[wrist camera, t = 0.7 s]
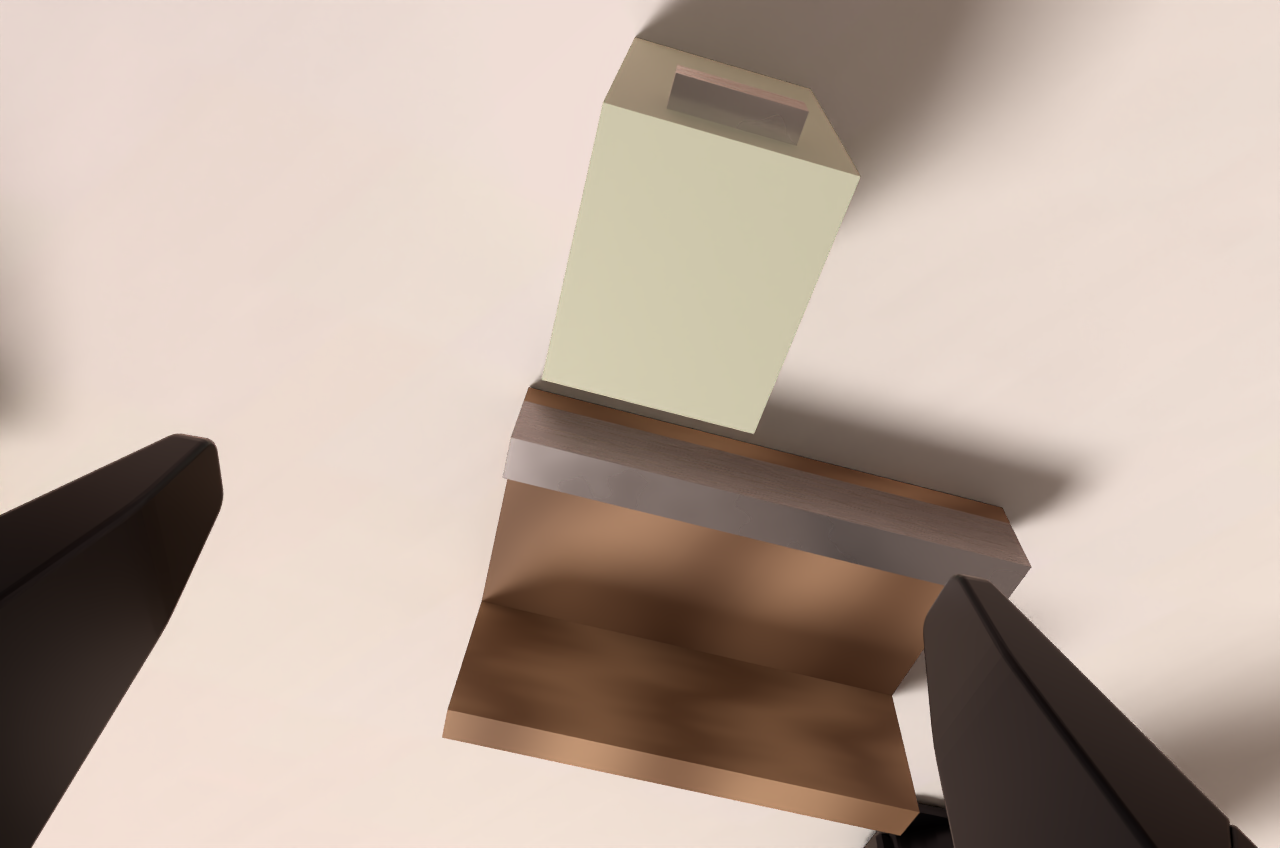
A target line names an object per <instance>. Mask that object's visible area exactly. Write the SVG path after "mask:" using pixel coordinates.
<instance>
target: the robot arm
mask: <svg viewBox="0 0 1280 848" xmlns="http://www.w3.org/2000/svg"><path fill="white" fill-rule="evenodd" d="M222 501H223V485H222V479H221V472H220V465H219V458H218V451H217V447H216V445H215V443H214V442H213V441H212V440H210V439H208V438H203V437H198V436H192V435H186V434H173V435H170V436H168V437H165V438H163V439H161V440H159V441H157V442H155V443H153V444H151V445H148V446H146V447H144V448H142V449H140V450H138V451H136V452H133V453H131V454H129V455H127V456H125V457H123V458H121V459H119V460H116V461H114V462H112V463H110V464H108V465H106V466H104V467H102V468H99V469H97V470H95V471H93V472H91V473H89V474H87V475H84V476H82V477H80V478H78V479H76V480H74V481H72V482H70V483H67V484H65V485H63V486H61V487H59V488H57V489H55V490H52V491H50V492H48V493H46V494H44V495H42V496H40V497H38V498H35V499H33V500H31V501H29V502H27V503H25V504H23V505H21V506H18V507H16V508H14V509H12V510H10V511H8V512H6V513H3V514H1V515H0V848H32V846H33V844H34V843H35V841H36V840H37V838H38V836H39V835H40V833H41V831H42V830H43V828H44V826H45V825H46V823H47V821H48V820H49V818H50V817H51V815H52V813H53V812H54V810H55V808H56V807H57V805H58V803H59V802H60V800H61V799H62V797H63V795H64V794H65V792H66V790H67V789H68V787H69V785H70V784H71V782H72V780H73V779H74V777H75V776H76V774H77V772H78V771H79V769H80V767H81V766H82V764H83V762H84V761H85V759H86V758H87V756H88V754H89V753H90V751H91V749H92V748H93V746H94V744H95V743H96V741H97V739H98V738H99V736H100V735H101V733H102V731H103V730H104V728H105V726H106V725H107V723H108V721H109V720H110V718H111V717H112V715H113V713H114V712H115V710H116V708H117V707H118V705H119V703H120V702H121V700H122V698H123V697H124V695H125V694H126V692H127V690H128V689H129V687H130V685H131V684H132V682H133V680H134V679H135V677H136V676H137V674H138V672H139V671H140V669H141V667H142V666H143V664H144V662H145V661H146V659H147V657H148V656H149V654H150V653H151V651H152V649H153V648H154V646H155V644H156V643H157V641H158V639H159V638H160V636H161V634H162V632H163V631H164V629H165V627H166V625H167V624H168V622H169V620H170V618H171V616H172V614H173V612H174V609H175V607H176V605H177V603H178V601H179V599H180V597H181V595H182V592H183V590H184V588H185V586H186V584H187V582H188V579H189V577H190V575H191V573H192V571H193V568H194V566H195V564H196V562H197V560H198V558H199V555H200V553H201V551H202V549H203V547H204V545H205V542H206V540H207V538H208V536H209V534H210V531H211V529H212V527H213V525H214V523H215V521H216V518H217V516H218V514H219V512H220V509H221V506H222ZM923 640H924V651H925V662H926V673H927V683H928V694H929V705H930V716H931V727H932V735H933V743H934V750H935V755H936V761H937V766H938V771H939V776H940V781H941V786H942V791H943V795H944V800H945V805H946V809H941V808H937V807H932V806H927V805H923V804H918V807H919V811H920V813H919V814H918V815H917V816H916V817H915V819H914V820H913V821H912V822H911V823H910V825H909V826H908V827H907V828H906V829H905V831H904V832H903V833H902V834H901V836H900V835H895V834H891V833H886V832H881V831H877V832H876V833H875V834H874V836H873V837H872V838H871V840H870V841H869V842H868V843H867V845H866V846H865V847H864V848H1258V847H1257V846H1256V845H1255V844H1254V843H1253V842H1252V841H1251V840H1250V839H1249V838H1248V837H1247V836H1246V835H1245V834H1244V833H1243V832H1242V831H1241V830H1240V829H1239V828H1238V827H1236V826H1235V825H1230V821H1229V819H1228V818H1227V817H1226V816H1225V815H1224V814H1223V813H1222V812H1221V811H1220V810H1219V809H1218V808H1217V807H1216V806H1215V805H1214V804H1213V803H1212V802H1211V801H1210V800H1209V799H1208V798H1207V797H1206V796H1205V795H1204V794H1203V793H1202V792H1201V791H1200V790H1199V789H1198V788H1197V787H1196V786H1195V785H1194V784H1193V783H1192V782H1191V781H1190V780H1189V779H1188V778H1187V777H1186V776H1185V775H1184V774H1183V773H1182V772H1181V771H1180V770H1179V769H1178V768H1177V767H1176V766H1175V765H1174V764H1173V763H1172V762H1171V761H1170V760H1169V759H1168V758H1167V757H1166V756H1165V755H1164V754H1163V753H1162V752H1161V751H1160V750H1159V749H1158V748H1157V747H1156V746H1155V745H1154V744H1153V743H1152V742H1151V741H1150V740H1149V739H1148V738H1147V737H1146V736H1145V735H1144V734H1143V733H1142V732H1141V731H1140V730H1139V729H1138V728H1137V727H1136V726H1135V725H1134V724H1133V723H1132V722H1131V721H1130V720H1129V719H1128V718H1127V717H1126V716H1125V715H1124V714H1123V713H1122V712H1121V711H1120V710H1119V709H1118V708H1117V707H1116V706H1115V705H1114V704H1113V703H1112V702H1111V701H1110V700H1109V699H1108V698H1107V697H1106V696H1105V695H1104V694H1103V693H1102V692H1101V691H1100V690H1099V689H1098V688H1097V687H1096V686H1095V685H1094V684H1093V683H1092V682H1091V681H1090V680H1089V679H1088V678H1087V677H1086V676H1085V675H1084V674H1083V673H1082V672H1081V671H1080V670H1079V669H1078V668H1077V667H1076V666H1075V665H1074V664H1073V663H1072V662H1071V661H1070V660H1069V659H1068V658H1067V657H1066V656H1065V655H1064V654H1063V653H1062V652H1061V651H1060V650H1059V649H1058V648H1057V647H1056V646H1055V645H1054V644H1053V643H1052V642H1051V641H1050V640H1049V639H1048V638H1047V637H1046V636H1045V635H1044V634H1043V633H1042V632H1041V631H1040V630H1039V629H1038V628H1037V627H1036V626H1035V625H1034V624H1033V623H1032V622H1031V621H1030V620H1029V619H1028V618H1027V617H1026V616H1025V615H1024V614H1023V613H1022V612H1021V611H1020V610H1019V609H1018V608H1017V607H1016V606H1015V605H1014V604H1013V603H1012V602H1011V601H1010V600H1009V599H1008V598H1007V597H1006V596H1005V595H1004V594H1003V593H1002V592H1001V591H1000V590H999V589H998V588H997V587H996V586H995V585H994V584H992V583H991V582H990V581H989V580H987V579H984V578H980V577H975V576H969V575H964V574H956V575H953V576H952V577H951V578H950V579H949V580H948V581H947V583H946V584H945V586H944V587H943V589H942V591H941V592H940V594H939V595H938V597H937V599H936V600H935V602H934V603H933V605H932V607H931V608H930V610H929V611H928V613H927V615H926V617H925V620H924V625H923Z"/></svg>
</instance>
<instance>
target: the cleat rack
mask: <svg viewBox="0 0 1280 848" xmlns="http://www.w3.org/2000/svg"><path fill="white" fill-rule="evenodd" d="M503 478H506V479H507V484H506V489H505V493H504V498H503V503H502V508H501V512H500V517H499V522H498V526H497V531H496V536H495V541H494V545H493V550H492V555H491V560H490V564H489V569H488V574H487V579H486V583H485V588H484V593H483V598H482V602H481V605H480V608H479V612H478V615H477V618H476V621H475V624H474V627H473V631H472V634H471V637H470V640H469V643H468V646H467V650H466V653H465V656H464V659H463V662H462V666H461V669H460V672H459V675H458V678H457V681H456V685H455V688H454V691H453V694H452V697H451V701H450V704H449V707H448V710H447V715H446V720H445V725H444V730H443V736H442V737H443V738H447V739H452V740H457V741H461V742H466V743H471V744H475V745H480V746H485V747H489V748H494V749H499V750H503V751H508V752H513V753H517V754H522V755H527V756H531V757H536V758H541V759H545V760H550V761H555V762H559V763H564V764H569V765H573V766H578V767H583V768H587V769H592V770H597V771H601V772H606V773H611V774H615V775H620V776H625V777H629V778H634V779H639V780H643V781H648V782H653V783H657V784H662V785H667V786H671V787H676V788H681V789H685V790H690V791H695V792H699V793H704V794H709V795H713V796H718V797H723V798H727V799H732V800H737V801H741V802H746V803H751V804H755V805H760V806H765V807H769V808H774V809H779V810H783V811H788V812H793V813H797V814H802V815H807V816H811V817H816V818H821V819H825V820H830V821H835V822H839V823H844V824H849V825H853V826H858V827H863V828H867V829H872V830H877V831H881V832H886V833H891V834H895V835H900V836H901V834H902V833H903V832H904V831H905V829H906V828H907V827H908V826H909V825H910V823H911V822H912V821H913V820H914V819H915V817H916V816H917V815H918V814H919V813H920V811H919V807H918V803H917V799H916V795H915V790H914V786H913V782H912V778H911V774H910V769H909V765H908V761H907V757H906V753H905V748H904V744H903V740H902V736H901V732H900V727H899V723H898V719H897V715H896V711H895V706H894V702H893V698H892V694H893V693H894V692H895V690H896V689H897V687H898V686H899V684H900V683H901V681H902V680H903V679H904V677H905V676H906V674H907V673H908V671H909V670H910V668H911V667H912V665H913V664H914V663H915V661H916V660H917V658H918V657H919V655H920V654H921V652H922V651H923V649H924V640H923V625H924V620H925V617H926V615H927V613H928V611H929V610H930V608H931V607H932V605H933V603H934V602H935V600H936V599H937V597H938V595H939V594H940V592H941V591H942V589H943V587H944V586H945V584H946V583H947V581H948V580H949V579H950V578H951V577H952V576H953V575H956V574H964V575H969V576H975V577H980V578H984V579H987V580H989V581H990V582H991V583H992V584H994V585H995V586H996V587H997V588H998V589H999V590H1000V591H1001V592H1002V593H1003V594H1004V595H1005V596H1006V597H1007V598H1009V597H1010V595H1011V594H1012V593H1013V591H1014V590H1015V589H1016V587H1017V586H1018V585H1019V583H1020V582H1021V580H1022V579H1023V578H1024V576H1025V575H1026V574H1027V572H1028V571H1029V570H1030V568H1031V565H1030V563H1029V561H1028V559H1027V557H1026V555H1025V553H1024V551H1023V549H1022V547H1021V545H1020V543H1019V541H1018V539H1017V537H1016V534H1015V532H1014V530H1013V528H1012V526H1011V524H1010V522H1009V520H1008V518H1007V516H1006V514H1005V512H1004V510H1003V508H1001V507H997V506H993V505H989V504H985V503H981V502H978V501H974V500H970V499H966V498H962V497H958V496H954V495H950V494H946V493H942V492H938V491H934V490H930V489H926V488H923V487H919V486H915V485H911V484H907V483H903V482H899V481H895V480H891V479H887V478H883V477H879V476H875V475H872V474H868V473H864V472H860V471H856V470H852V469H848V468H844V467H840V466H836V465H832V464H828V463H824V462H820V461H817V460H813V459H809V458H805V457H801V456H797V455H793V454H789V453H785V452H781V451H777V450H773V449H769V448H765V447H762V446H758V445H754V444H750V443H746V442H742V441H738V440H734V439H730V438H726V437H722V436H718V435H714V434H710V433H707V432H703V431H699V430H695V429H691V428H687V427H683V426H679V425H675V424H671V423H667V422H663V421H659V420H655V419H652V418H648V417H644V416H640V415H636V414H632V413H628V412H624V411H620V410H616V409H612V408H608V407H604V406H600V405H597V404H593V403H589V402H585V401H581V400H577V399H573V398H569V397H565V396H561V395H557V394H553V393H549V392H546V391H542V390H538V389H534V388H530V387H529V388H528V391H527V394H526V396H525V399H524V402H523V405H522V408H521V410H520V413H519V416H518V419H517V422H516V425H515V427H514V430H513V433H512V436H511V439H510V444H509V449H508V454H507V459H506V464H505V468H504V473H503Z"/></svg>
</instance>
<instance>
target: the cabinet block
mask: <svg viewBox="0 0 1280 848" xmlns="http://www.w3.org/2000/svg"><path fill="white" fill-rule="evenodd" d="M860 177H861V176H860V175H859V173H858V171H857V169H856V168H855V166H854V164H853V162H852V161H851V159H850V157H849V155H848V154H847V152H846V150H845V148H844V147H843V145H842V143H841V141H840V140H839V138H838V136H837V134H836V133H835V131H834V129H833V127H832V126H831V124H830V122H829V120H828V119H827V117H826V115H825V113H824V112H823V110H822V108H821V106H820V105H819V103H818V101H817V99H816V98H815V96H814V94H813V92H812V91H811V89H809V88H805V87H802V86H798V85H795V84H792V83H788V82H785V81H782V80H778V79H775V78H771V77H768V76H765V75H761V74H758V73H755V72H751V71H748V70H744V69H741V68H738V67H734V66H731V65H728V64H724V63H721V62H717V61H714V60H711V59H707V58H704V57H701V56H697V55H694V54H690V53H687V52H684V51H680V50H677V49H674V48H670V47H667V46H663V45H660V44H657V43H653V42H650V41H647V40H643V39H640V38H636V37H635V38H634V40H633V42H632V44H631V46H630V48H629V51H628V53H627V55H626V57H625V59H624V61H623V63H622V65H621V67H620V69H619V71H618V73H617V75H616V77H615V79H614V81H613V83H612V85H611V87H610V89H609V91H608V93H607V95H606V98H605V100H604V102H603V105H602V110H601V114H600V119H599V123H598V128H597V132H596V137H595V141H594V146H593V150H592V155H591V159H590V164H589V168H588V173H587V177H586V182H585V186H584V191H583V195H582V200H581V205H580V209H579V214H578V218H577V223H576V227H575V232H574V236H573V241H572V245H571V250H570V254H569V259H568V263H567V268H566V272H565V277H564V281H563V286H562V290H561V295H560V299H559V304H558V308H557V313H556V317H555V322H554V326H553V331H552V335H551V340H550V344H549V349H548V354H547V358H546V363H545V367H544V372H543V376H542V380H545V381H549V382H552V383H556V384H560V385H564V386H568V387H572V388H576V389H580V390H584V391H588V392H592V393H595V394H599V395H603V396H607V397H611V398H615V399H619V400H623V401H627V402H631V403H635V404H638V405H642V406H646V407H650V408H654V409H658V410H662V411H666V412H670V413H674V414H678V415H682V416H685V417H689V418H693V419H697V420H701V421H705V422H709V423H713V424H717V425H721V426H725V427H728V428H732V429H736V430H740V431H744V432H748V433H752V434H754V433H755V430H756V428H757V425H758V423H759V421H760V418H761V416H762V413H763V411H764V408H765V406H766V404H767V401H768V399H769V396H770V394H771V392H772V389H773V387H774V384H775V382H776V380H777V377H778V375H779V372H780V370H781V367H782V365H783V363H784V360H785V358H786V355H787V353H788V351H789V348H790V346H791V343H792V341H793V339H794V336H795V334H796V331H797V329H798V326H799V324H800V322H801V319H802V317H803V314H804V312H805V310H806V307H807V305H808V302H809V300H810V298H811V295H812V293H813V290H814V288H815V285H816V283H817V281H818V278H819V276H820V273H821V271H822V269H823V266H824V264H825V261H826V259H827V257H828V254H829V252H830V249H831V247H832V244H833V242H834V240H835V237H836V235H837V232H838V230H839V228H840V225H841V223H842V220H843V218H844V216H845V213H846V211H847V208H848V206H849V203H850V201H851V199H852V196H853V194H854V191H855V189H856V187H857V184H858V182H859V179H860Z"/></svg>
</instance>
